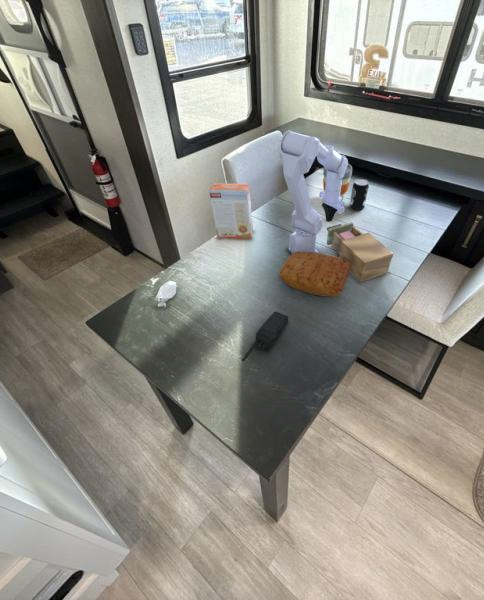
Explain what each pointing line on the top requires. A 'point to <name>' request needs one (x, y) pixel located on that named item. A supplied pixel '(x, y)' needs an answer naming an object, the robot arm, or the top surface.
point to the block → (346, 235)
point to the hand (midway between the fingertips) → (329, 220)
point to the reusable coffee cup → (344, 181)
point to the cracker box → (232, 210)
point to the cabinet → (365, 256)
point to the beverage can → (359, 194)
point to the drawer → (336, 230)
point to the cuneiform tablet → (315, 273)
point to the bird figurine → (166, 292)
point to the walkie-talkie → (269, 332)
